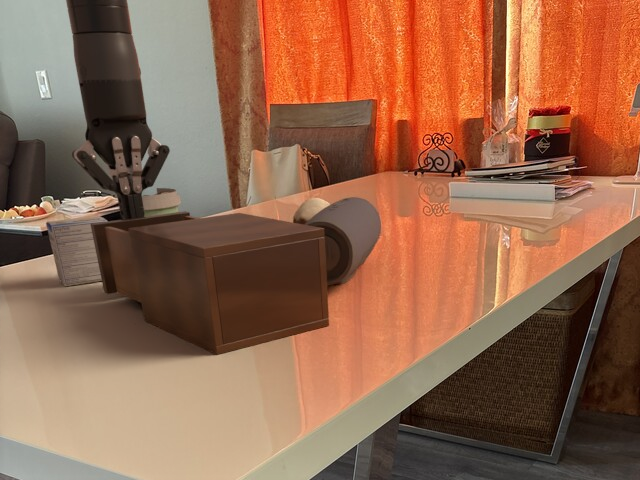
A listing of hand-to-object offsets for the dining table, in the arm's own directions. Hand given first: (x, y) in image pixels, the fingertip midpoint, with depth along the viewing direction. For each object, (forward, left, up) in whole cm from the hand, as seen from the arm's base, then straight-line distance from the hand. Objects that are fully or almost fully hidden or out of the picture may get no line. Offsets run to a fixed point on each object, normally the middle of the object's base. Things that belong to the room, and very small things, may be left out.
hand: (133, 222), depth 97 cm
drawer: (0, -8, -8) cm, 11 cm away
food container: (+14, +21, -9) cm, 27 cm away
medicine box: (-4, +11, -9) cm, 15 cm away
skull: (+37, +8, -9) cm, 39 cm away
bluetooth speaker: (+24, -15, -9) cm, 30 cm away
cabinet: (0, -25, -9) cm, 26 cm away
